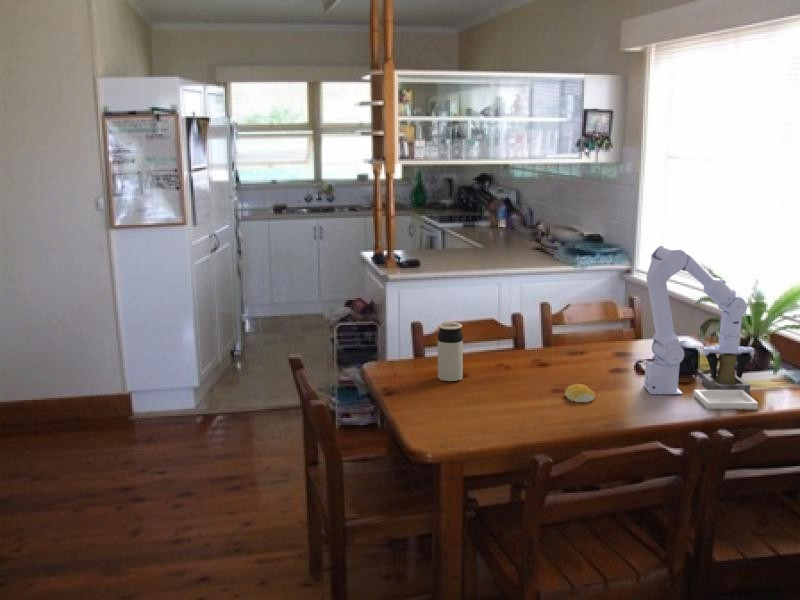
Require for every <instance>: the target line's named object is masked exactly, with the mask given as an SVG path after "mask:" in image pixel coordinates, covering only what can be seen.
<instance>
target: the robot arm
mask: <svg viewBox="0 0 800 600" xmlns="http://www.w3.org/2000/svg"><path fill="white" fill-rule="evenodd" d="M650 258H651V261H650V264H649V267H648V271H647V274H646V283H647V289H648V295H649V302H650V307H651V313H652V319H653V325H654V330H655V333H654V334H653V335H652V344H651V352H652V353H653V355H654V358H653V359H654V360H653V361H650V362H649V361H647V362H646V364H645V367H644V383H643V386H644V389H646V390H647V392H648V393H649V394H650V395H682V394H683V392H682V391H681V390H680V389H679V378H680V377H679V375H680V366H681V364H680V363H682V361H683V360H684V357H685V350H684V348H683V347H682V346H681V343H680V340H679V337H678V336H677V334H676V332H675V327H674V322H673V315H672V309H671V304H670V303H671V302H670V297H669V291H668V284H667V282H668V281H669V279H671V277H673V276H674V275H676V274H677V273H679V272H680V271H684V272H687V273H688V274H689V275H690V276H691V277H692V278H694V279H695V280H696V281H697V282H699V283H700V284H701V285H702V286H703V292H704V294H706V296H708V297H709V298H710V299H711V301H713V302H714V303H716V305H717V307H718V309H719V310H721V315H720V325H719V336H718V337H719V338H718V345H713V346H704V347H703V348H702V354H703V355H704V356H705V357H706V360H707V362H708V365H709V370H710V374H711V376H712V377H713V378H716V374H718V370H717V369H718V364H719V357H718V355H720V354H726V353H731V354H735V355H736V356H737V362H736V364H737V365H736V371H735V374H736V375H737V377H739V378H742V377H743V374H744V371H745V369H746V368H747V366H748V364H749V363H750V362H751V360H752V356H754V355H755V348H754V347H752V346H741V345H740V343H741V333H742V331H741V329H742V320H743V316H744V314H745V313H746V312H747V309H748V306H747V303H746V300H744V298H743V297H741V296H737V295H736V294H737V292H736V291H735V289H731V288H730V287H729V286H728V285H726V283H727V282H726V280H724V279H723V278H719V277H712V276H711V275H710V274H709V273H708V272H707V271H706V270H705V269H704V268H703V267H702V266H701V265H700V264H699V263H698V262H697V261H696V260H695V259H694V258H693V257H692V256H691V255H689V254H687V253H686V252H685V251H684V250H683V249H678V248H676V247H672V246H671V245H668V244H661V245H660V246H658V247H656V249H655V250H654V251H653V252H652V253H651V255H650Z"/></svg>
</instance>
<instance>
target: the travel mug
mask: <svg viewBox="0 0 800 600" xmlns="http://www.w3.org/2000/svg"><path fill="white" fill-rule="evenodd" d="M462 327H463V324H462V323H459V322H456V321H455V322H454V321H445V322H441V323H439V324H438V328H439V332H438V334H437V379H438V378H439V379H441V380H445V381H457V380H460V381H462V380H463V377H464V376H463V372H464V371H463V370H464V369H463V368H464V365H463V361H464V358H463V357H464V355H463V351H464V350H463V349H464V344H463V343H464V342H463V341H464V334H463V332H462V330H461V329H462ZM439 379H438V380H439ZM461 379H462V380H461ZM441 380H440V381H441Z"/></svg>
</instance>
